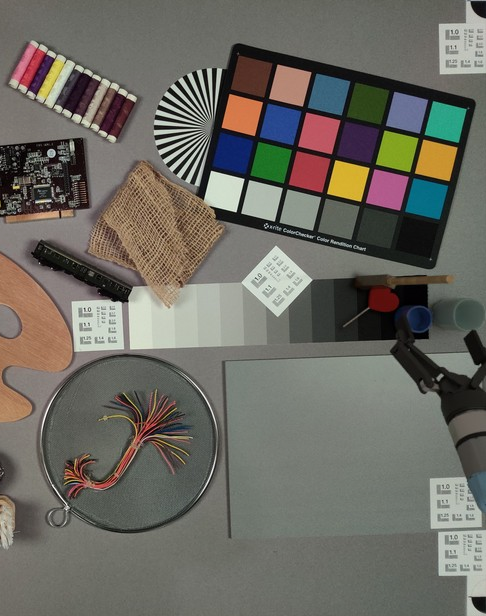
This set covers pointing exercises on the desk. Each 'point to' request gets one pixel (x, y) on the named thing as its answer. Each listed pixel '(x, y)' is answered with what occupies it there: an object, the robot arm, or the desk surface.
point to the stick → (420, 280)
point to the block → (373, 282)
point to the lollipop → (380, 301)
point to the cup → (459, 314)
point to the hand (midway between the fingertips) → (434, 326)
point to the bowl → (416, 317)
